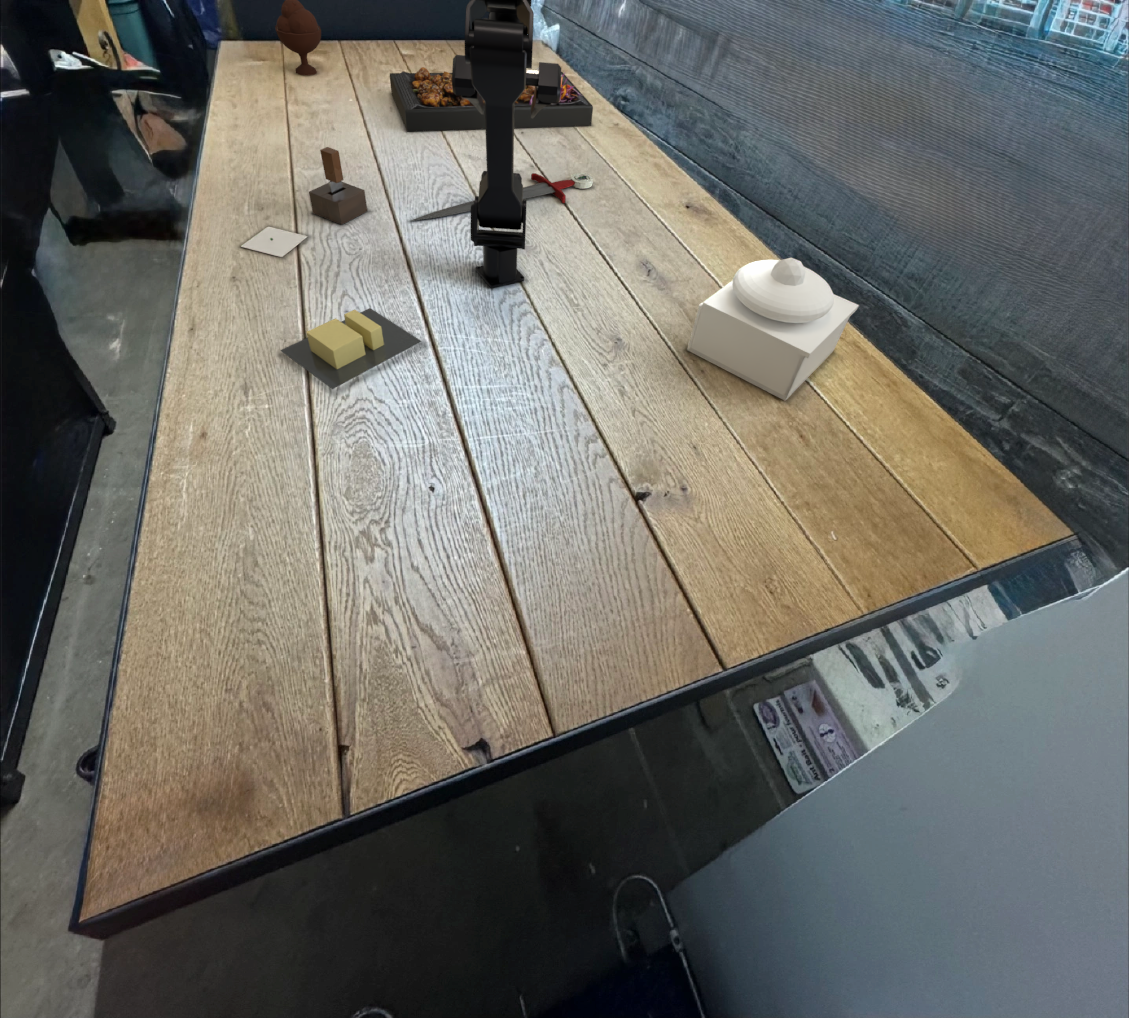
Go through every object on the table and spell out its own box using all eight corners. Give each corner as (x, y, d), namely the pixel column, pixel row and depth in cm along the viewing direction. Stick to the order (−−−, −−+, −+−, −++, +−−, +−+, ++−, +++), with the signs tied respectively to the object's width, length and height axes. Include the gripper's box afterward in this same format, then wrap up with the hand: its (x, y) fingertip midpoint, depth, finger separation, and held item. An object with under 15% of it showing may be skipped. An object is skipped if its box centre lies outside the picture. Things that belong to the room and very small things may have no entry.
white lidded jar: (740, 307, 112) (769, 216, 100) (836, 352, 106) (880, 261, 94) (686, 350, 103) (711, 255, 91) (788, 403, 96) (830, 308, 84)
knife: (351, 211, 123) (340, 149, 115) (340, 217, 121) (329, 154, 113) (340, 207, 124) (329, 145, 115) (330, 212, 122) (317, 150, 114)
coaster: (308, 236, 116) (307, 232, 115) (281, 257, 111) (280, 252, 110) (268, 226, 117) (267, 222, 116) (240, 246, 112) (239, 242, 111)
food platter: (561, 90, 176) (564, 45, 168) (591, 125, 161) (596, 77, 153) (391, 93, 164) (386, 44, 156) (407, 131, 149) (402, 80, 142)
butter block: (339, 336, 97) (335, 318, 94) (365, 354, 94) (362, 335, 92) (310, 350, 94) (305, 331, 92) (337, 369, 92) (332, 350, 89)
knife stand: (367, 211, 124) (364, 189, 121) (341, 225, 120) (337, 203, 116) (339, 200, 126) (335, 178, 123) (312, 213, 121) (308, 191, 118)
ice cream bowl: (275, 74, 166) (259, 1, 155) (299, 62, 173) (286, -9, 162) (313, 81, 165) (299, 9, 154) (335, 69, 172) (324, -1, 161)
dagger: (394, 194, 129) (393, 185, 128) (583, 175, 142) (583, 167, 141) (409, 222, 122) (408, 213, 121) (606, 199, 135) (607, 191, 134)
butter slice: (358, 327, 98) (354, 309, 96) (384, 345, 96) (381, 326, 94) (347, 332, 97) (343, 314, 95) (373, 350, 95) (370, 331, 93)
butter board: (370, 312, 103) (369, 307, 102) (422, 345, 98) (421, 341, 98) (281, 354, 94) (280, 350, 93) (333, 393, 90) (332, 388, 89)
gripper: (565, 5, 108) (558, 79, 123) (451, -6, 107) (459, 70, 122) (563, 65, 107) (556, 133, 122) (448, 55, 105) (456, 124, 121)
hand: (507, 113), depth 122 cm, fingers open, 9 cm apart
